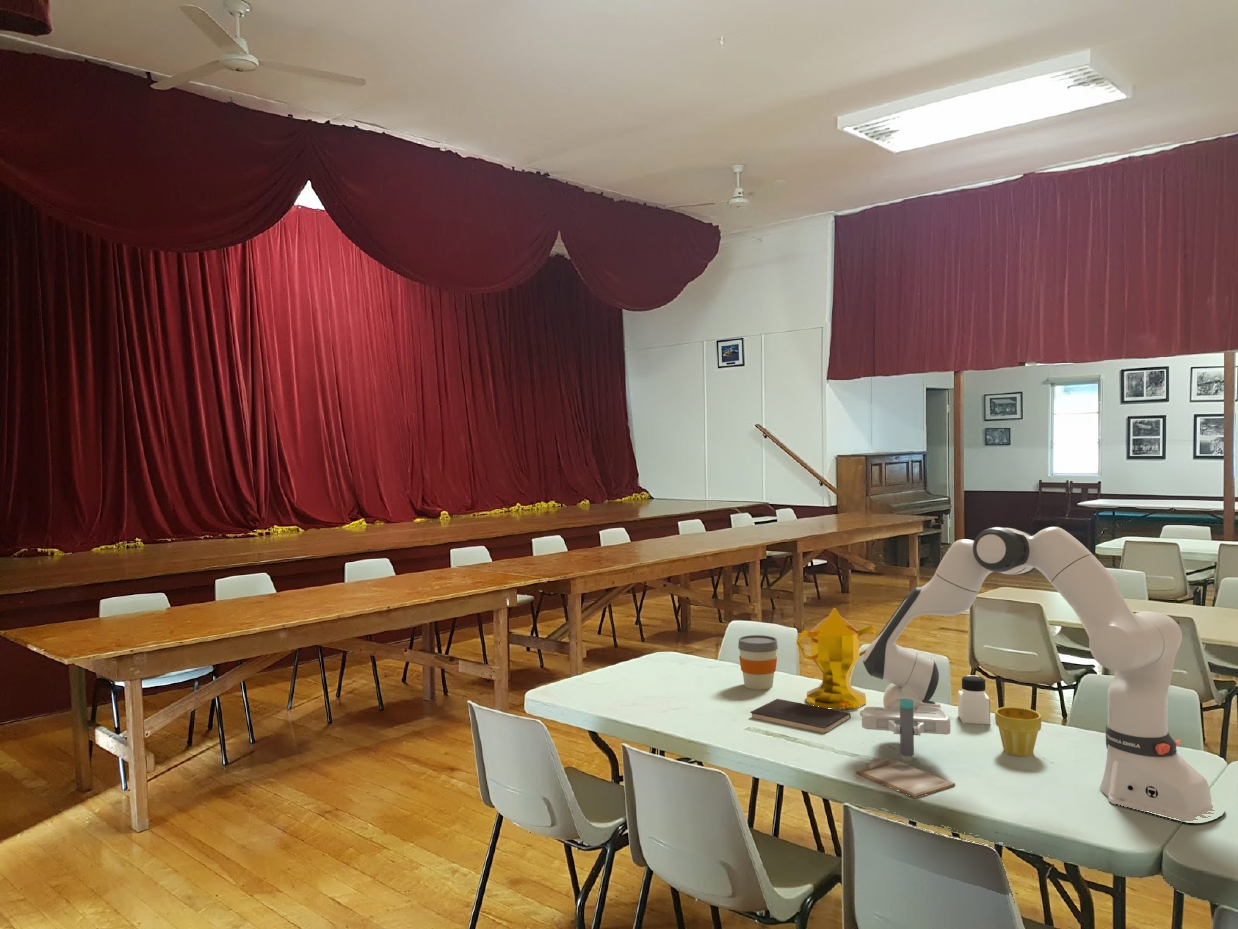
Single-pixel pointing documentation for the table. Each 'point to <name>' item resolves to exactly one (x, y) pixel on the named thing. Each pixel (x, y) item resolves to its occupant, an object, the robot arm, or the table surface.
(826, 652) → the trophy cup
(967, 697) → the medicine bottle
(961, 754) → the table surface
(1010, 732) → the plant pot
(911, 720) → the marker
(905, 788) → the clipboard
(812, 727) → the hardcover book
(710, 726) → the table surface
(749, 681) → the reusable coffee cup
